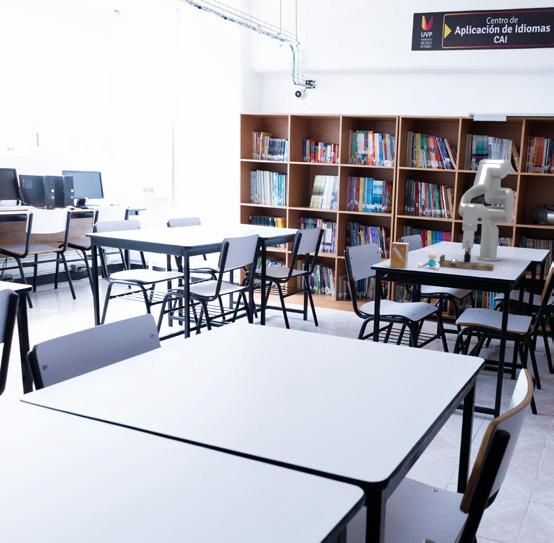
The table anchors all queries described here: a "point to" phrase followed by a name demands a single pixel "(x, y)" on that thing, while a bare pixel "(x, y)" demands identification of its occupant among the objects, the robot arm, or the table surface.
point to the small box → (399, 255)
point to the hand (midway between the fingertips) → (467, 261)
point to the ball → (453, 261)
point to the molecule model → (431, 262)
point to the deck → (465, 265)
